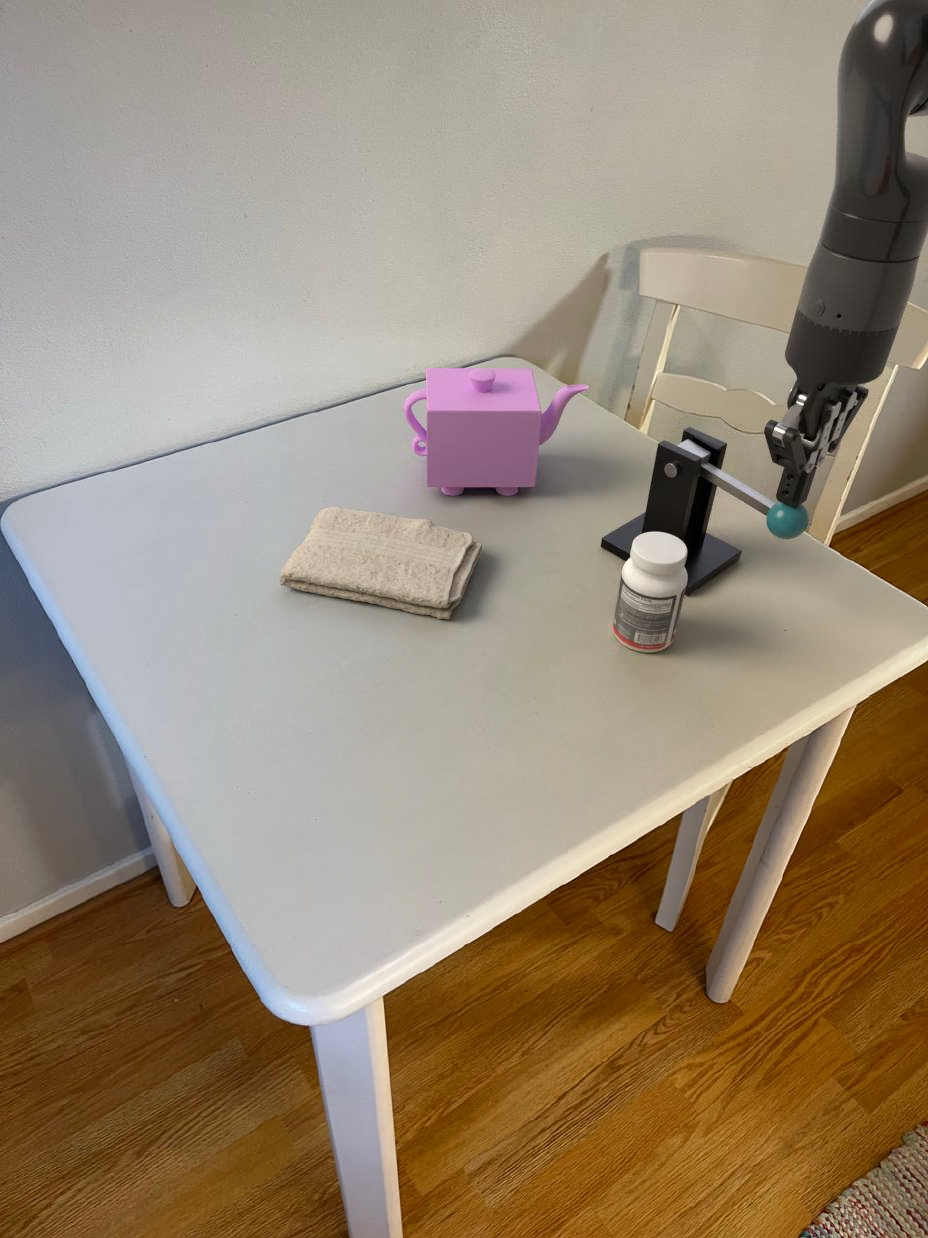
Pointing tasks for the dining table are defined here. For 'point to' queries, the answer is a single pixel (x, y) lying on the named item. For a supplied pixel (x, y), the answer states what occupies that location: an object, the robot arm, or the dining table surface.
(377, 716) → the dining table surface
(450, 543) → the washcloth
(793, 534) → the lever with teal knob
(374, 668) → the dining table surface
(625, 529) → the bracket
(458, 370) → the teapot
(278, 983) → the dining table surface
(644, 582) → the pill bottle
